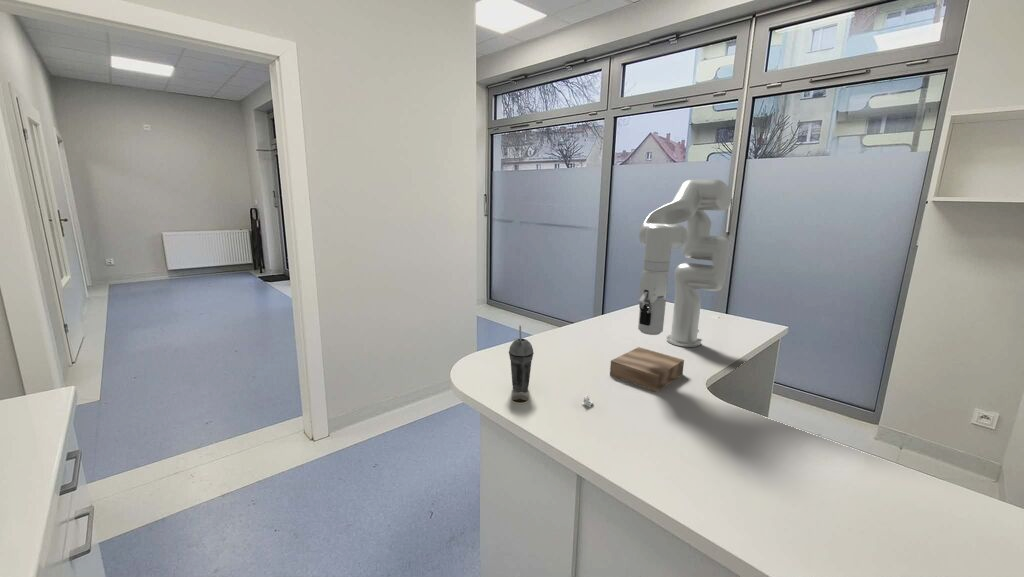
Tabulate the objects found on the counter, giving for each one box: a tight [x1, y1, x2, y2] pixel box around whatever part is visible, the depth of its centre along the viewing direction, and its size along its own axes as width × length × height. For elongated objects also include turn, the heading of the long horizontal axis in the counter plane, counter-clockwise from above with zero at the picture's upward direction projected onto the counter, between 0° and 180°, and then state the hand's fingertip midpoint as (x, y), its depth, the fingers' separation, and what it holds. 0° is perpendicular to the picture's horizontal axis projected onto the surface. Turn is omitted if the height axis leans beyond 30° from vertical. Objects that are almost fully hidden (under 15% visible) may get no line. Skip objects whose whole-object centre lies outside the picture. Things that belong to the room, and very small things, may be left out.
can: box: [637, 296, 667, 336], centre depth 132 cm, size 8×8×12 cm
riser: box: [609, 346, 685, 392], centre depth 136 cm, size 18×16×5 cm
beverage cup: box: [508, 325, 534, 393], centre depth 123 cm, size 7×7×20 cm
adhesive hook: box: [581, 394, 595, 408], centre depth 116 cm, size 3×3×3 cm
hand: (651, 321), depth 132 cm, fingers closed on can, 7 cm apart
